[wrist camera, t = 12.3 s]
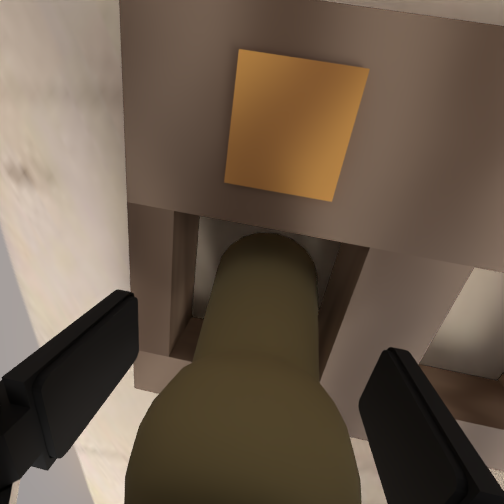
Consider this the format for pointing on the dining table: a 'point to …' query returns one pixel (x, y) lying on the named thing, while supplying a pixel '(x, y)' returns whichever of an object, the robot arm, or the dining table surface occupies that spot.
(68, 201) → the dining table surface
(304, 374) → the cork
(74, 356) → the robot arm
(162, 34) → the socket board
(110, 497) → the dining table surface
